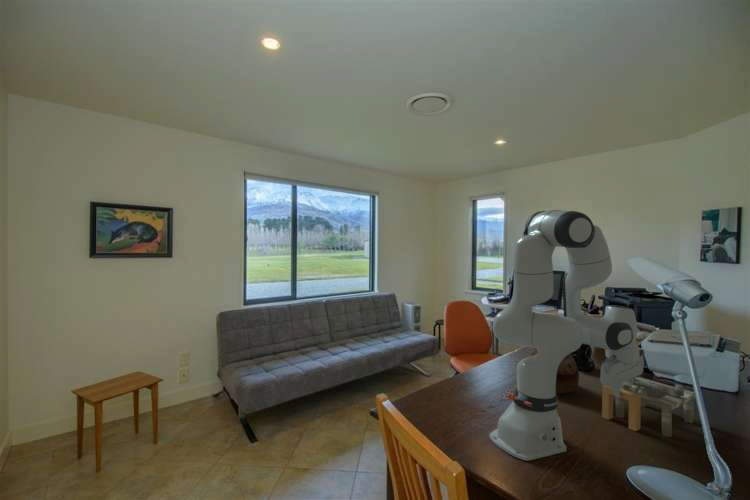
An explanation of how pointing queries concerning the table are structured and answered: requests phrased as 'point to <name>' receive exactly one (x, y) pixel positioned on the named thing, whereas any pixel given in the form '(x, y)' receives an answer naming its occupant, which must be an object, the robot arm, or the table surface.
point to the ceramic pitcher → (565, 374)
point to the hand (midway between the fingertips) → (622, 393)
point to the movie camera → (583, 358)
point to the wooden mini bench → (633, 406)
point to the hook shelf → (661, 401)
